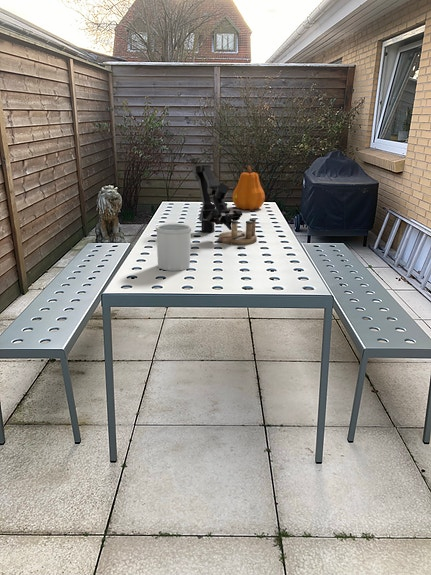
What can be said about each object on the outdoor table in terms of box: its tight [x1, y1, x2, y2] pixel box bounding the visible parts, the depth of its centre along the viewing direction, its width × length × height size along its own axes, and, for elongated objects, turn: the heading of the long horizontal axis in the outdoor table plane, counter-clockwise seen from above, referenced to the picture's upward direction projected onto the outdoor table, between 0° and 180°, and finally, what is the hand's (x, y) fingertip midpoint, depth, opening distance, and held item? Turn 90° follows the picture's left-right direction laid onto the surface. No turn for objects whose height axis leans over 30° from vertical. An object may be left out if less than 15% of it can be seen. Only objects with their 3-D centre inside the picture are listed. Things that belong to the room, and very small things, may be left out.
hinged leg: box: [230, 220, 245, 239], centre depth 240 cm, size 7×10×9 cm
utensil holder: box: [155, 222, 192, 272], centre depth 198 cm, size 15×15×18 cm
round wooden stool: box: [218, 218, 258, 246], centre depth 245 cm, size 20×20×11 cm
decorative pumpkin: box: [232, 164, 266, 211], centre depth 332 cm, size 24×24×30 cm
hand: (230, 229), depth 237 cm, fingers closed
